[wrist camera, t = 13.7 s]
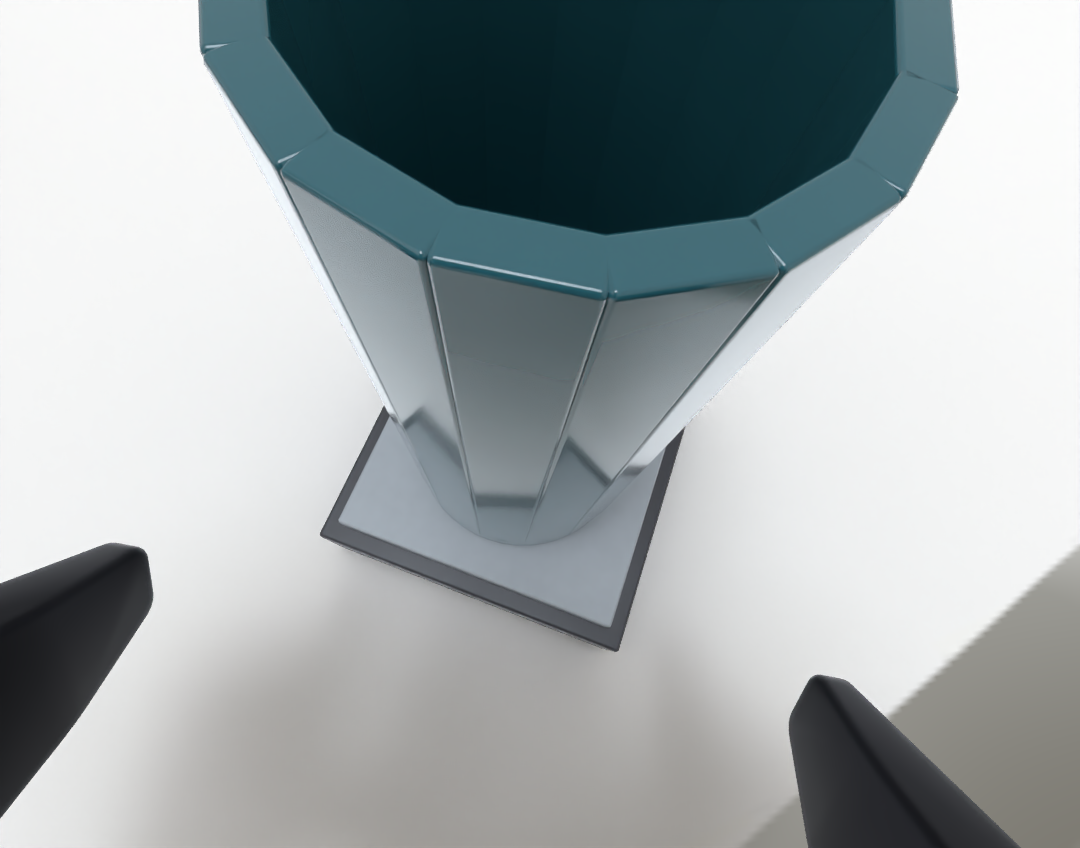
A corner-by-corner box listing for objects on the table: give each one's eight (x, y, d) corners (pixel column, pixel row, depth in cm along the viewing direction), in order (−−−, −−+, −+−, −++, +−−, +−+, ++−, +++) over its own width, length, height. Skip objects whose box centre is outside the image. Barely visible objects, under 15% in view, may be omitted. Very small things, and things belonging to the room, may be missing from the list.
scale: (603, 648, 18) (622, 654, 15) (339, 545, 18) (311, 532, 16) (679, 400, 21) (708, 366, 18) (450, 317, 21) (444, 271, 19)
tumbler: (553, 589, 16) (761, 472, 3) (377, 468, 16) (5, 2, 4) (660, 418, 17) (1048, -69, 5) (497, 316, 18) (496, -321, 6)
